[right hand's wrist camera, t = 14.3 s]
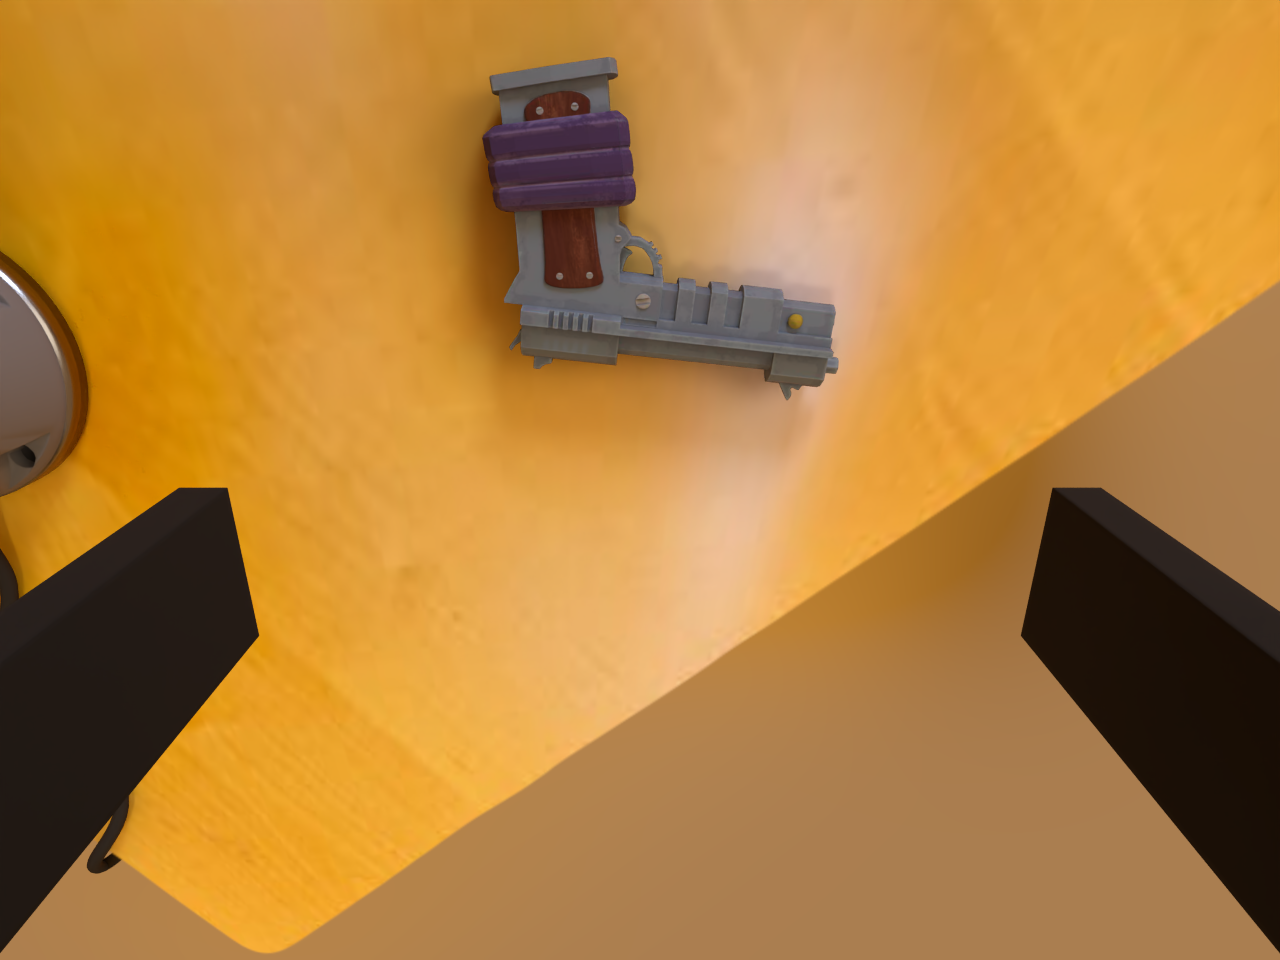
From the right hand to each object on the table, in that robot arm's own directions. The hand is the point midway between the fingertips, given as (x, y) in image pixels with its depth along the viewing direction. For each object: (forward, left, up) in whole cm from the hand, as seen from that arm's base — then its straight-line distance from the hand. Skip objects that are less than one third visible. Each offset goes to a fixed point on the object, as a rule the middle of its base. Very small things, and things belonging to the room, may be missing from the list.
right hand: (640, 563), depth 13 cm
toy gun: (+3, -2, -31) cm, 31 cm away
